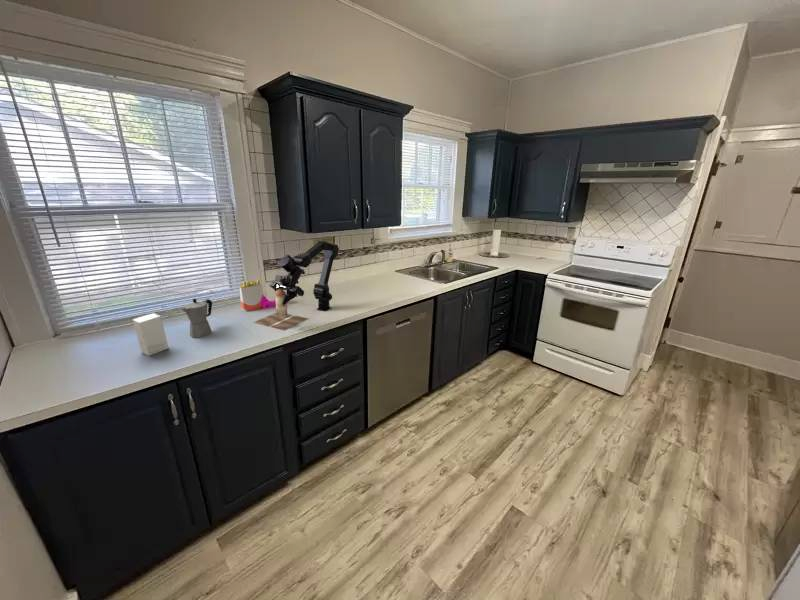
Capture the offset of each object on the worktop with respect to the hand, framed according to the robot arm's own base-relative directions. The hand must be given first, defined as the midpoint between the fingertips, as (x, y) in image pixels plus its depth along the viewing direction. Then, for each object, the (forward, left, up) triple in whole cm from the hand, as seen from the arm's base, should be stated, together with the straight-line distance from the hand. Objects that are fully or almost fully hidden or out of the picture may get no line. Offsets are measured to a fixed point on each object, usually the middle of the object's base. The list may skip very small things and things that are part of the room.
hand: (278, 303), depth 160 cm
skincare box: (+43, -30, -14) cm, 54 cm away
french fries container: (-13, -34, -14) cm, 39 cm away
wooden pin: (-1, 0, -7) cm, 7 cm away
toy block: (-23, -28, -14) cm, 39 cm away
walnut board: (-6, -6, -13) cm, 16 cm away
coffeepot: (+22, -29, -14) cm, 39 cm away
